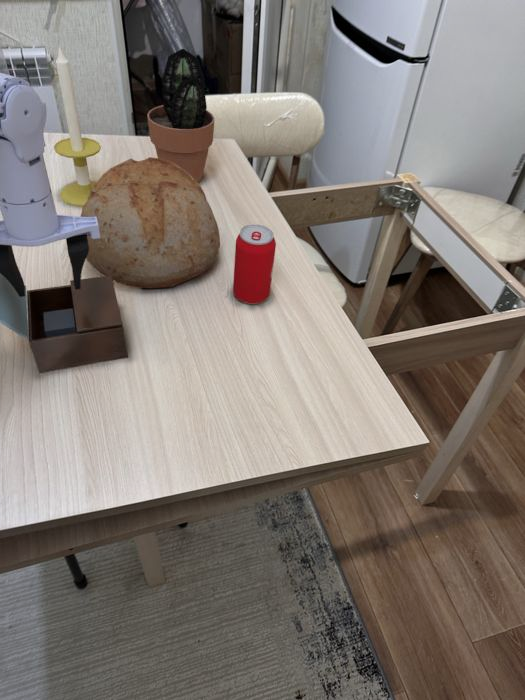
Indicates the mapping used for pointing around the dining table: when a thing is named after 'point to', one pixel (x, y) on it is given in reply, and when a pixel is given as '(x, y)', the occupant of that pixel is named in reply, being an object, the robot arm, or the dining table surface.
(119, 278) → the bread
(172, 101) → the potted plant
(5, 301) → the door
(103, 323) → the box
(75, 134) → the candle
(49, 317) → the block
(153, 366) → the dining table surface
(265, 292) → the beverage can
